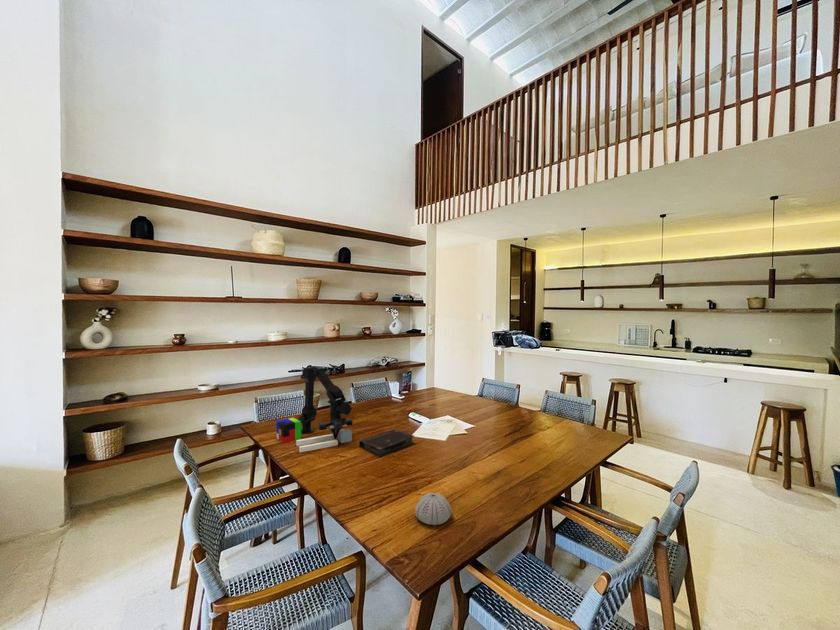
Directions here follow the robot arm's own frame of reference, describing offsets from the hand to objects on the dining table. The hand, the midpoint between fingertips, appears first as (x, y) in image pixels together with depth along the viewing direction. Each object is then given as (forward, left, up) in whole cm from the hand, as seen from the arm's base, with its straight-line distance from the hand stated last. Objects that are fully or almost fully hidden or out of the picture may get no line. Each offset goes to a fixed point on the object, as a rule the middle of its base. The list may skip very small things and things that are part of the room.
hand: (335, 438), depth 194 cm
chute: (0, -10, -2) cm, 10 cm away
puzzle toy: (-18, -22, -2) cm, 28 cm away
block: (0, +6, -2) cm, 6 cm away
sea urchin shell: (+86, +13, -2) cm, 87 cm away
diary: (+19, +24, -2) cm, 31 cm away
